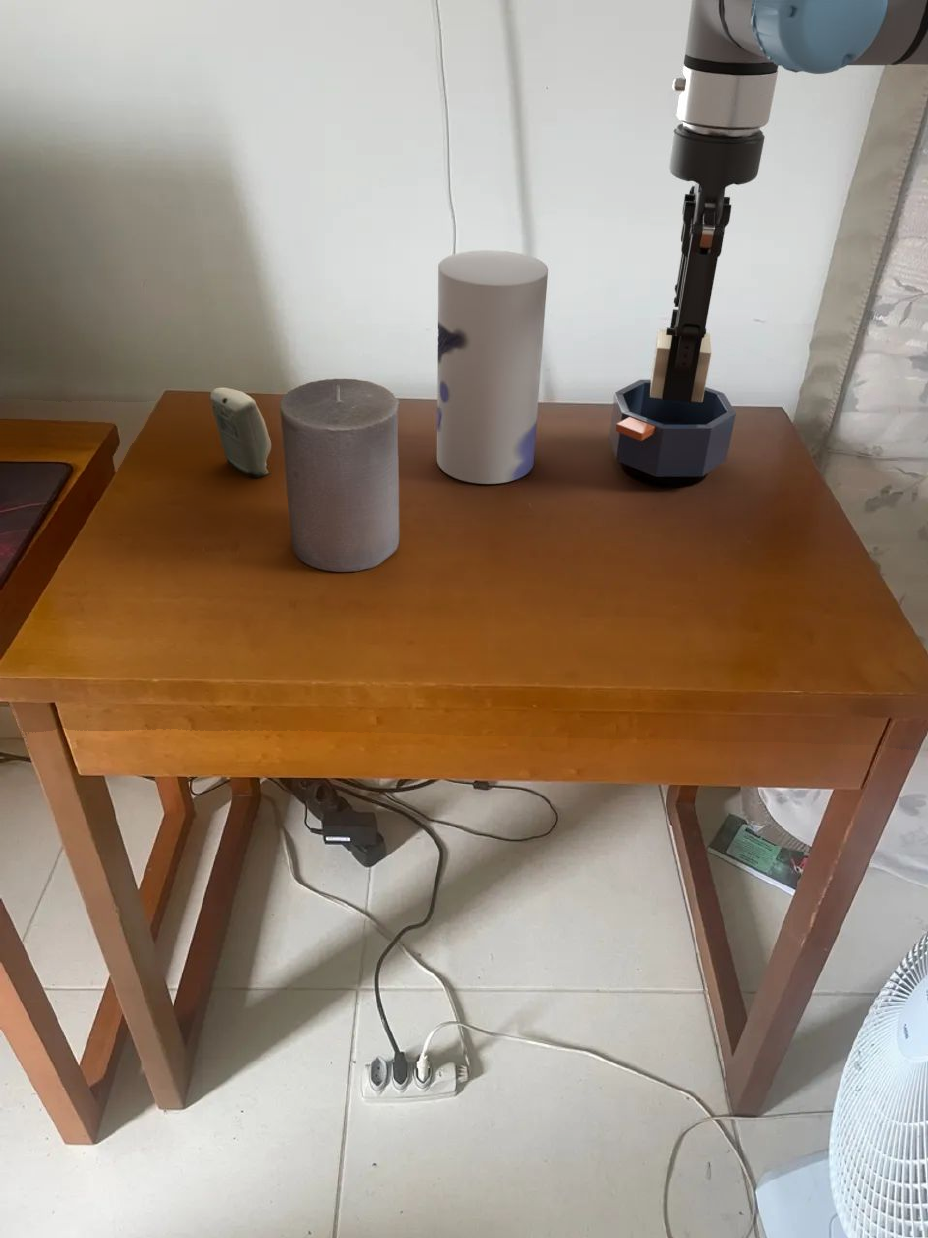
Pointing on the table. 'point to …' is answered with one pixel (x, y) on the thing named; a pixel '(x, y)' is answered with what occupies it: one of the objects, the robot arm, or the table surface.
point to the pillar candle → (342, 473)
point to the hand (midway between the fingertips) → (676, 386)
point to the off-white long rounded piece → (241, 431)
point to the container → (489, 363)
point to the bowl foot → (661, 478)
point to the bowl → (670, 432)
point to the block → (662, 361)
